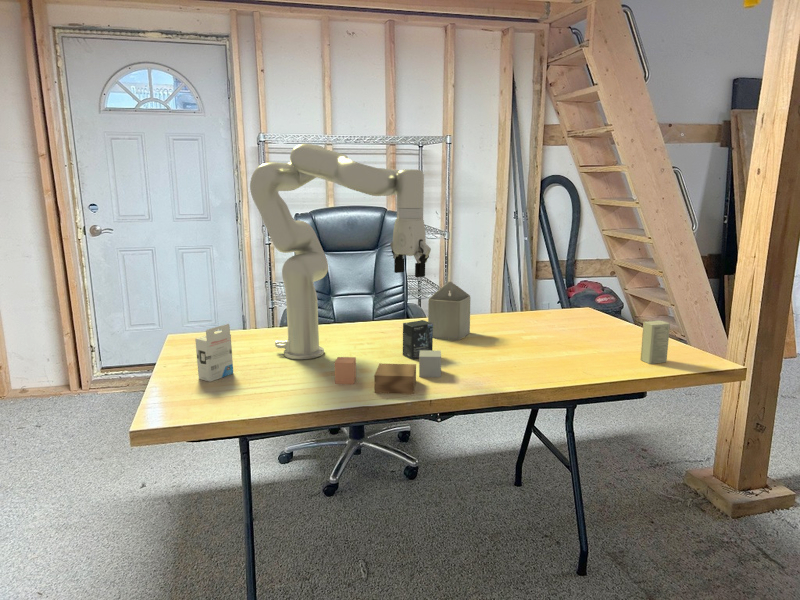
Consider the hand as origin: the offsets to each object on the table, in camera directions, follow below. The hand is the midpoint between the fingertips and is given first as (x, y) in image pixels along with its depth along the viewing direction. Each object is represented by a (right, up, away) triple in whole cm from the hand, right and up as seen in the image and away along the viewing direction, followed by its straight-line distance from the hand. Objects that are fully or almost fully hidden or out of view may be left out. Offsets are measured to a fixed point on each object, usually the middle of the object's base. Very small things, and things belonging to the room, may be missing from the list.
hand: (409, 274), depth 162 cm
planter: (+16, -21, +36) cm, 44 cm away
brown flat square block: (-4, -31, -12) cm, 33 cm away
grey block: (+6, -28, -2) cm, 29 cm away
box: (+3, -25, +15) cm, 29 cm away
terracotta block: (-18, -29, -8) cm, 35 cm away
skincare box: (+74, -26, +8) cm, 78 cm away
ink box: (-54, -29, -4) cm, 62 cm away
